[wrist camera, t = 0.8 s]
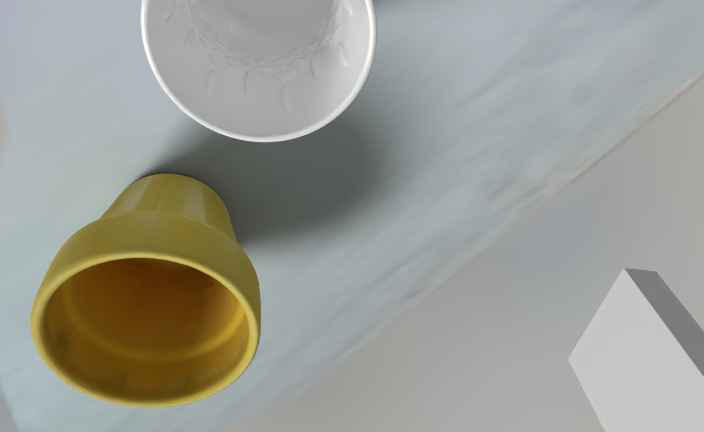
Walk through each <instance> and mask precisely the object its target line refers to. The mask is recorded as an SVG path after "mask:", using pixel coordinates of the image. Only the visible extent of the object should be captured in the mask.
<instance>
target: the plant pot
mask: <svg viewBox="0 0 704 432" xmlns="http://www.w3.org/2000/svg"><path fill="white" fill-rule="evenodd" d="M260 327H261V301H260V290H259V282H258V278H257V274H256V272H255V269H254V267H253V265H252V263H251V261H250V259H249V257H248V256H247V255H246V253H245V252H244V251H243V249H242V248H241V247H240V246H239V245H238V243H237V240H236V237H235V234H234V230H233V227H232V223H231V220H230V216H229V213H228V210H227V208H226V206H225V204H224V202H223V200H222V199H221V198H220V197H219V195H218V194H217V193H216V192H215V191H214V190H213V189H211V188H210V187H209V186H207V185H206V184H204V183H202V182H201V181H199V180H196V179H194V178H191V177H188V176H184V175H179V174H166V173H163V174H154V175H150V176H147V177H144V178H141V179H139V180H137V181H135V182H133V183H132V184H131V185H129V186H128V187H127V188H126V189H125V190H124V191H123V192H122V193H121V194H120V195H119V197H118V198H117V199H116V200H115V201H114V203H113V204H112V205H111V206H110V207H109V209H108V210H107V211H106V212H105V213H104V214H103V215H102V217H101V218H100V219H98V220H96V221H94V222H92V223H90V224H88V225H86V226H85V227H83V228H82V229H80V230H79V231H77V232H76V233H75V234H74V235H72V236H71V237H70V238H69V239H68V240H67V241H66V242H65V244H64V245H63V246H62V247H61V249H60V250H59V252H58V253H57V255H56V257H55V258H54V260H53V262H52V263H51V265H50V267H49V269H48V271H47V273H46V275H45V277H44V279H43V282H42V284H41V286H40V288H39V291H38V293H37V296H36V298H35V301H34V305H33V308H32V313H31V331H32V337H33V340H34V344H35V346H36V349H37V351H38V353H39V355H40V356H41V358H42V359H43V361H44V362H45V364H46V365H47V366H48V367H49V368H50V369H51V370H52V371H53V372H54V373H55V374H56V375H57V376H58V377H59V378H60V379H62V380H63V381H64V382H66V383H67V384H68V385H70V386H72V387H73V388H75V389H77V390H78V391H80V392H82V393H84V394H87V395H89V396H91V397H94V398H97V399H100V400H103V401H106V402H110V403H114V404H119V405H125V406H132V407H143V408H160V407H172V406H178V405H184V404H188V403H192V402H196V401H199V400H202V399H205V398H207V397H209V396H212V395H214V394H216V393H218V392H219V391H221V390H223V389H225V388H226V387H228V386H229V385H230V384H232V383H233V382H234V381H235V380H237V379H238V378H239V377H240V376H241V375H242V374H243V373H244V371H245V370H246V369H247V368H248V366H249V365H250V363H251V362H252V360H253V358H254V356H255V354H256V351H257V348H258V345H259V340H260Z"/></svg>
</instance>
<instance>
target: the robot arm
mask: <svg viewBox="0 0 704 432" xmlns="http://www.w3.org/2000/svg"><path fill="white" fill-rule="evenodd" d="M568 360H569V362H570V364H571V366H572V368H573V370H574V371H575V374H576V375H577V378H578V380H579V381H580V383H581V385H582V387H583V389H584V391H585V393H586V395H587V397H588V399H589V401H590V403H591V405H592V407H593V408H594V410H595V412H596V414H597V416H598V418H599V420H600V422H601V424H602V426H603V428H604V430H605V431H606V432H704V331H703V330H702V329H701V327H700V326H699V325H698V324H697V322H696V321H695V320H694V319H693V317H692V316H691V315H690V314H689V313H688V311H687V310H686V309H685V307H684V306H683V305H682V304H681V303H680V301H679V300H678V299H677V297H676V296H675V295H674V294H673V292H672V291H671V290H670V289H669V287H668V286H667V285H666V284H665V283H664V281H663V280H662V279H661V277H660V276H659V275H658V274H657V272H654V271H645V270H637V269H628V268H623V270H622V272H621V274H620V275H619V277H618V278H617V280H616V282H615V283H614V285H613V286H612V288H611V290H610V291H609V293H608V295H607V296H606V298H605V299H604V301H603V303H602V304H601V306H600V308H599V309H598V311H597V313H596V314H595V316H594V318H593V319H592V321H591V322H590V324H589V326H588V327H587V329H586V330H585V332H584V334H583V335H582V337H581V339H580V340H579V342H578V344H577V345H576V347H575V349H574V350H573V352H572V354H571V355H570V357H569V358H568Z"/></svg>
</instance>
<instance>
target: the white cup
mask: <svg viewBox="0 0 704 432" xmlns="http://www.w3.org/2000/svg"><path fill="white" fill-rule="evenodd" d="M141 31H142V39H143V44H144V48H145V52H146V55H147V58H148V61H149V63H150V66H151V68H152V70H153V72H154V74H155V76H156V78H157V80H158V81H159V83H160V85H161V86H162V88H163V89H164V90H165V92H166V93H167V94H168V96H169V97H170V98H171V99H172V100H173V101H174V103H175V104H176V105H177V106H178V107H179V108H181V109H182V110H183V111H184V112H185V113H186V114H187V115H189V116H190V117H191V118H193V119H194V120H196V121H197V122H199V123H200V124H202V125H204V126H205V127H207V128H209V129H211V130H213V131H215V132H218V133H220V134H223V135H226V136H229V137H232V138H236V139H240V140H245V141H253V142H277V141H284V140H290V139H294V138H298V137H301V136H304V135H307V134H309V133H311V132H314V131H316V130H318V129H320V128H321V127H323V126H325V125H326V124H328V123H329V122H331V121H332V120H334V119H335V118H336V117H337V116H339V115H340V114H341V113H342V112H343V111H344V110H345V109H346V108H347V107H348V106H349V105H350V104H351V102H352V101H353V100H354V99H355V97H356V96H357V94H358V93H359V91H360V90H361V88H362V86H363V85H364V83H365V81H366V79H367V77H368V74H369V72H370V69H371V66H372V63H373V59H374V55H375V50H376V42H377V20H376V13H375V7H374V3H373V0H142V6H141Z"/></svg>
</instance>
